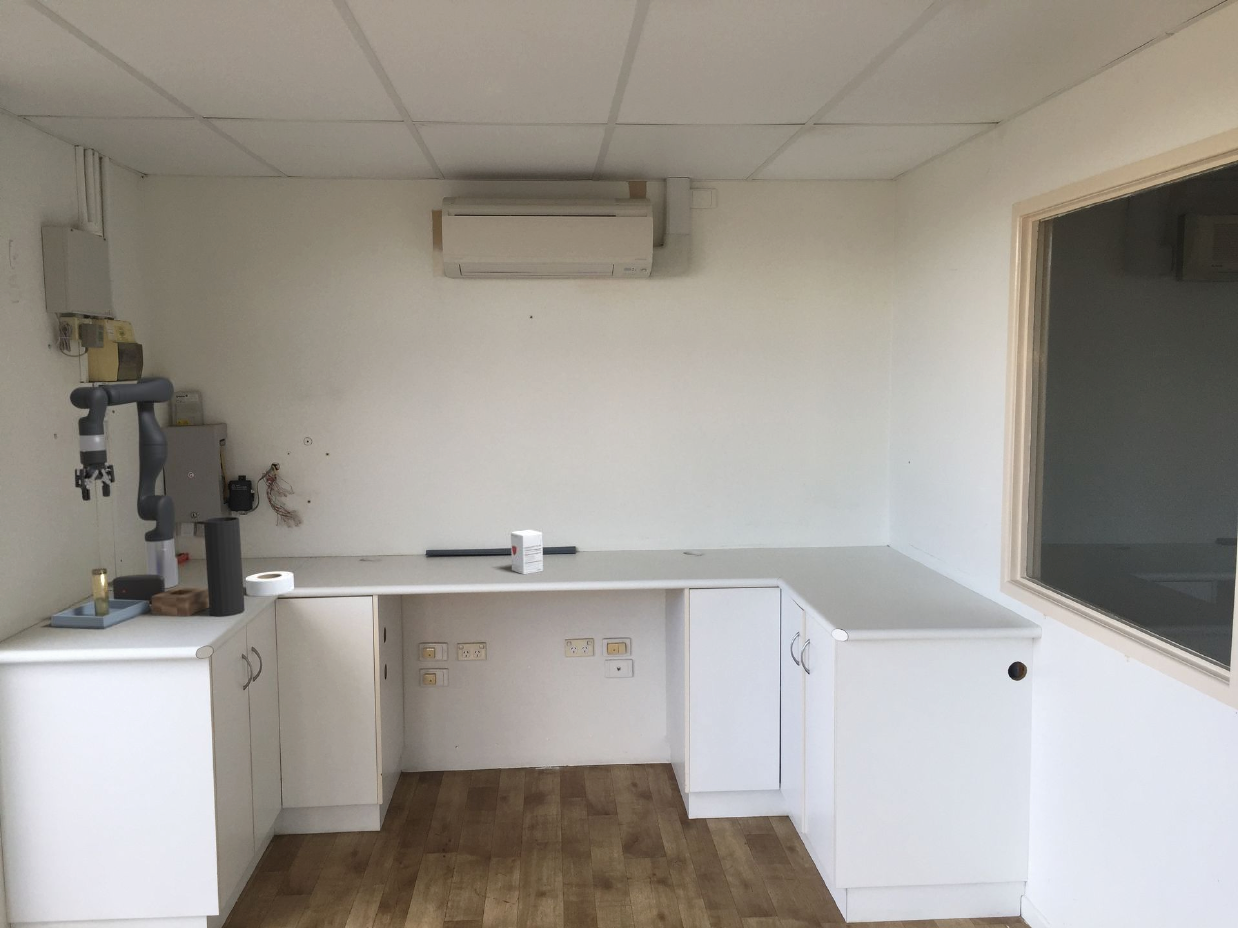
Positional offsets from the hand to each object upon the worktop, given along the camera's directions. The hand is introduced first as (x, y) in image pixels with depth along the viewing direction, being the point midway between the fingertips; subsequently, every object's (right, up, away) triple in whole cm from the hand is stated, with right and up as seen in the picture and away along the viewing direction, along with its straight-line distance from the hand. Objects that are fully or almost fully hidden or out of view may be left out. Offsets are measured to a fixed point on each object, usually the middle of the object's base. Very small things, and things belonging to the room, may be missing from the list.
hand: (96, 498), depth 287 cm
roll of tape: (+48, -34, +23) cm, 63 cm away
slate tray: (+8, -37, -11) cm, 40 cm away
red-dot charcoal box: (+10, -36, +7) cm, 38 cm away
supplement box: (+135, -30, +48) cm, 146 cm away
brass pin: (+8, -37, -11) cm, 39 cm away
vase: (+45, -36, -5) cm, 58 cm away
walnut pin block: (+29, -36, -2) cm, 46 cm away
